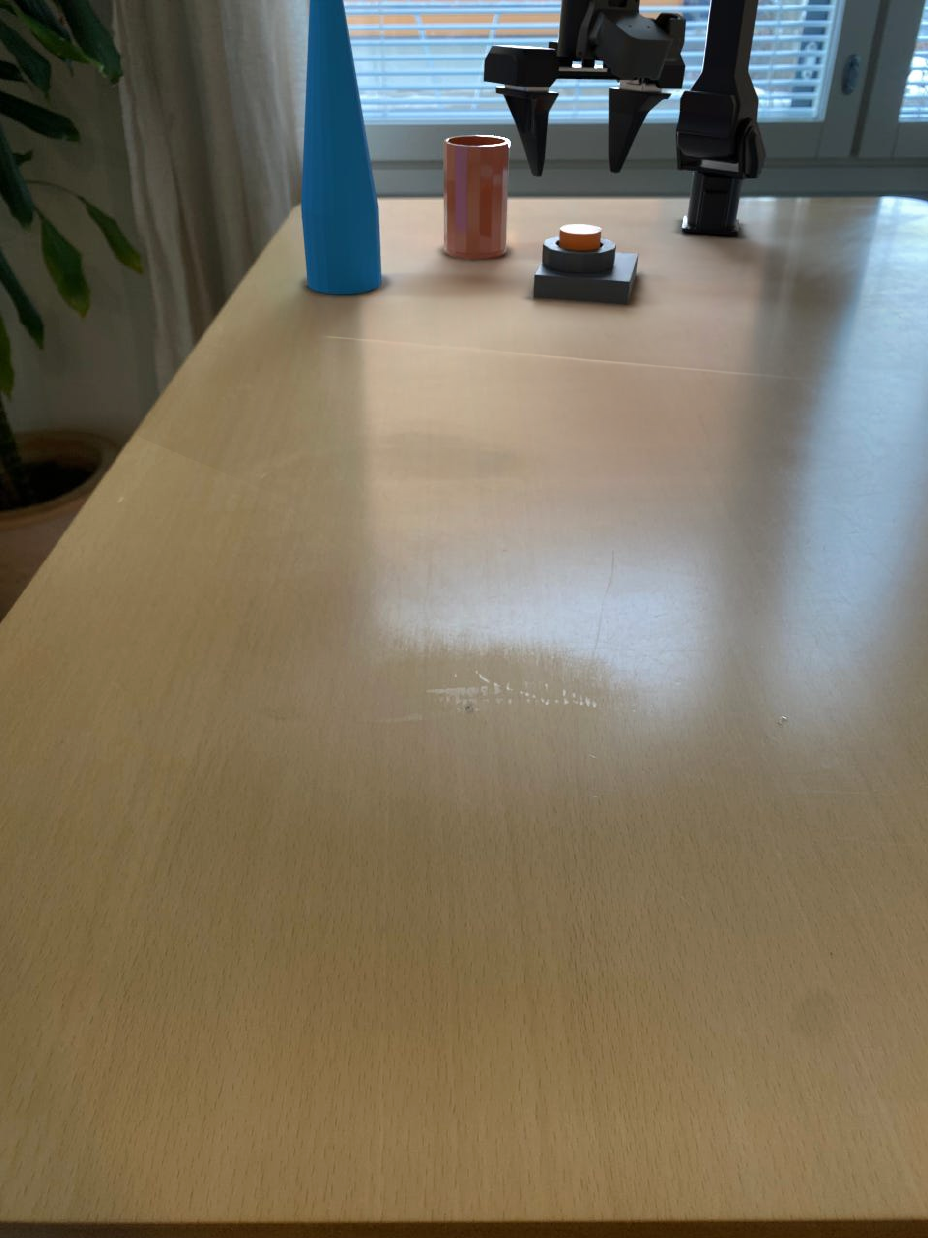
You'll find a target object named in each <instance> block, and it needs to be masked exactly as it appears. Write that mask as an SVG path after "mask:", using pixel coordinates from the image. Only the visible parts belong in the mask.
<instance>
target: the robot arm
mask: <svg viewBox="0 0 928 1238" xmlns="http://www.w3.org/2000/svg"><path fill="white" fill-rule="evenodd" d="M640 3H641V0H560V11H559V23H558V34H557V41H552V40H549V41H548V48H546V47H536V46H526V45H502V44H501V45H499V44H492V45H491V48H490V50H489V51H488V53H487V55H486V57H485V58H484V62H483V63H484V64H483V82H486V83H491V84H498V86H497V85H496V86H495V89H494V90H495V94H497V95H503V98H504V100H505V103H506V105H507V107H508V110H509V112H510V115H511V116H512V119H513V121H514V124H515V126H516V129H517V132H518V135H519V139H520V140H521V144H522V147H523V151H524V154H525V156H526V160H527V163H528V166H529V170H530V173H531V175H532V176H533V177H537V178H540V177H542V176H543V172H544V166H545V161H546V152H547V141H548V140H547V139H548V127H549V118H550V111H551V109H552V108H553V106H554V104H555V103H556V100H557V99H558V97H559V95H560V92H557V91H550V88H551V87H552V86H553V85H554V83H555V82H556V81H557V80H592V81H593V80H597V81H603V80H604V81H616V82H617V83H618V87H608V150H607V152H608V164H609V165H608V167H609V172H610V173H611V174H612V173H613V174H619V173H621V171H622V169H623V167H624V164H625V162H626V160H627V157H628V156H629V153H630V151H631V149H632V147H633V144H634V142H635V140H636V137H637V136H638V133H639V131H640V129H641V127H642V125H643V123H644V122H645V120H646V118H647V116H648V114H649V113H650V112H651V111H652V110H653V109H654V108H655V107H656V106H658V104H660V103H661V102H662V101H663V100H669V99H670V97H671V96H672V93H671V92H667V91H663V89H668V90H671V89H672V90H674V89H675V90H680V89H683V87H684V79H685V73H686V63H685V61H684V58H683V57H682V51H683V49H684V47H685V41H686V27H687V19H686V18H685V17H684V16H683V15H681V14H679V12H668V11H667V12H666V11H662V12H660V13H659V14H658V15H657V16H656V18H654V17H646V16H643V14H641V13H640V5H641V4H640ZM758 7H759V0H710V3H709V11H708V17H707V18H708V19H707V25H706V26H707V28H706V36H705V43H704V51H703V60H702V65H701V72H700V74H699V75H698V77H697V78H696V80H695V81H694V83H693V84H692V85H691V87H690V89H689V90H688V89H684V91H683V92H682V94H681V96H680V98H679V112H678V119H677V124H676V127H675V146H676V148H675V151H676V170H677V171H681V172H682V171H688V172H693V173H692V179H691V180H692V181H691V185H690V187H691V188H690V193H689V201H688V208H687V209H688V210H687V214H686V215H684V216H683V221H682V226H681V232H683V233H693V234H705V235H706V234H709V235H722V236H724V235H725V236H738V235H739V232H740V220H739V219H738V218H737V217H738V211H739V206H740V205H739V204H740V199H741V193H742V187H743V182H744V180H747V179H748V180H749V179H758V178H759V177H760V175H761V173H762V170H763V168H764V167H765V162H766V158H767V152H766V147H765V145H764V141H763V137H762V134H761V130H760V126H759V123H758V115H759V114H758V113H759V104H760V103H759V100H760V99H759V97H758V94H757V91H756V88H755V85H754V83H753V80H752V78H751V74H750V73H749V70H750V69H749V68H750V62H751V61H750V60H751V56H752V55H751V54H752V53H751V52H752V49H753V40H754V34H755V29H756V28H755V27H756V21H757V14H758ZM574 62H576V63H577V62H578V63H580V64H574ZM596 62H602V64H601V65H597V64H596ZM499 85H500V86H499ZM501 85H502V86H501Z"/></svg>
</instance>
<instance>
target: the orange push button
mask: <svg viewBox="0 0 928 1238" xmlns="http://www.w3.org/2000/svg"><path fill="white" fill-rule="evenodd" d="M558 236H559V247H561V248H565V249H569V250H595V249H598V248H600V242H601V238H602V228H600V227H598V226H596V225H592V224H585V223H583V224H581V223H575V224H574V223H573V224H565V225H563V226H561V227H559V235H558Z"/></svg>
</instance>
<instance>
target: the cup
mask: <svg viewBox="0 0 928 1238" xmlns="http://www.w3.org/2000/svg"><path fill="white" fill-rule="evenodd" d="M442 146H443V147H442V148H443V149H442V150H443V151H442V152H443V162H442V163H443V164H442V165H443V169H442V170H443V251H444V253H445V254H446V255H447V256H450V257H454V258H459V259H464V260H465V259H466V260H488V259H495V258H499V257H501V256H504V255H505V254H506V253H507V240H508V215H509V214H508V211H509V210H508V208H509V182H510V181H509V179H510V153H511V152H510V151H511V149H510V147H511V141H510V139H508V138H505V137H501V136H496V135H495V136H494V135H486V134H485V135H484V134H483V135H482V134H481V135H479V134H470V135H469V134H466V135H456V136H455V135H454V136H449V137H446V138H445V139H444V140H443V145H442Z"/></svg>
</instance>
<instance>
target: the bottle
mask: <svg viewBox="0 0 928 1238" xmlns="http://www.w3.org/2000/svg"><path fill="white" fill-rule="evenodd" d="M308 7H309V8H308V10H309V11H308V32H307V33H308V35H307V55H306V57H307V58H306V77H305V78H306V82H305V102H304V103H305V104H304V127H303V128H304V130H303V152H302V153H303V154H302V172H301V173H302V176H301V196H300V197H301V200H300V201H301V202H300V212H301V223H302V224H301V225H302V235H303V247H304V259H305V267H306V268H305V269H306V280H307V282H306V283H307V287H308V288H309V289H310V290H312V291H315V292H318V293H323V294H327V295H357V294H363V293H367V292H371V291H375V290H376V289H377V288H379V287H380V286H381V285H382V283H383V282H382V281H383V279H382V262H381V261H382V257H381V238H380V237H381V236H380V234H381V233H380V211H379V210H380V209H379V202H378V197H377V191H376V184H375V178H374V174H373V172H374V171H373V166H372V159H371V155H370V150H369V149H370V147H369V143H368V138H367V132H366V125H365V120H364V114H363V108H362V103H361V102H362V101H361V96H360V90H359V84H358V79H357V73H356V66H355V61H354V55H353V49H352V44H351V37H350V31H349V25H348V20H347V15H346V14H347V13H346V8H345V2H344V0H309V6H308Z"/></svg>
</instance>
